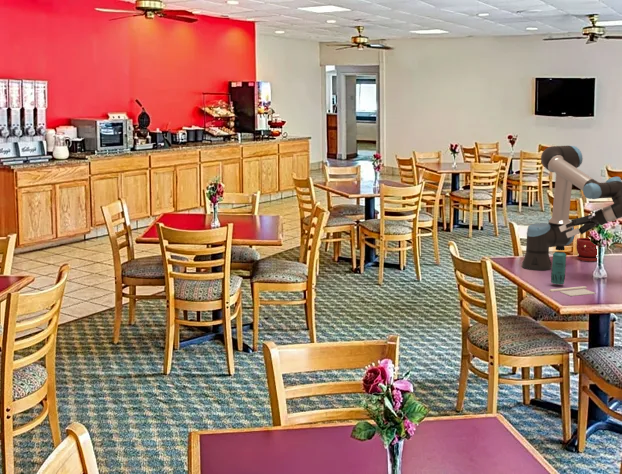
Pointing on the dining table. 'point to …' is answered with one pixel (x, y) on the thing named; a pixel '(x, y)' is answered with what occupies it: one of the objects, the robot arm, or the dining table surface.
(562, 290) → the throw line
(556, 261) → the beverage bottle
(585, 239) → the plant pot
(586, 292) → the mat
